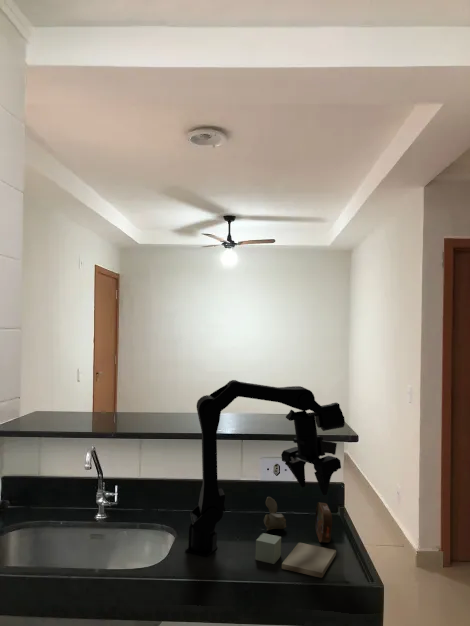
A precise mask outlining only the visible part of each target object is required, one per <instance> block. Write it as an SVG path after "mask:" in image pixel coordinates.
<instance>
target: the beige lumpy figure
mask: <svg viewBox="0 0 470 626" xmlns="http://www.w3.org/2000/svg"><path fill="white" fill-rule="evenodd" d="M265 506H266V507H267V508H268V511H269V514H268V513H266V514H265V516H264V518H263V523H264V525H265V528H266V530H265V531H271V530H275V529H276V530H284V529H285V528H287V519H286V518H285V515H283V514H282V513H277V512H278V504H277V501H275V499H274V498H272V497H271V496H267V497H266V500H265Z"/></svg>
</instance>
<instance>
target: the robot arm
mask: <svg viewBox="0 0 470 626" xmlns="http://www.w3.org/2000/svg"><path fill="white" fill-rule="evenodd" d="M237 398H246V399H254V400H259V401H268V402H273V403H280V404H282V405H285V406H288V407H291V408H294V409H295V410H299V411H295V410H294V409H290V410H289V413H287V415H286V416H285V419H287V420H288V421H293V424H294V430H295V438H293V439H292V441H293V443H295V444H296V446H294V447H290V448H287V449H285V450H283V451H282V453H281V455H280V456H281V461H282V462H283V463H284V464H285V466H287V467H288V469H289V470H290V472H291V473H292V475H293V476H294V477H295V479H296V481H297V483H298V484H299V486H300V487H301V488H305V487H306V474H305V471H306V470H305V466H306V463H309V464H311V465H313V469H314V476H315V479H316V481H317V483H318V488H319V489H320V491H321V495H323V496H327V495H328V492H329V489H330V482H331V479H332V476H333V474H334V473H335V472H337V471H338V470H340V469H342V463H341V459H340V458H339V457H335V456H334V455H336V452H337V446H338V445H337V444H338V442H337V443H336V442H333V441H329V440H324V438H323V436H321V435H318V430H317V428H318V429H321V430H322V431H323V432H325V431H330V430H336V429H341V428H344V427H345V426H346V423H345V422H346V421H345V416H344V413H343V412H342V411H343V410H342V409H341V407H340V406H341V405H340V403H338V402H333V403H329V404H324V405H321V404H319V403H318V401H316V397H315V394H314V393H313V391H312V390H310V389H308V388H306V387H303V386H299V385H295V386H283V387H278V386H270V385H264V384H259V383H258V384H257V383H250V382H243V381H238V380H236V379H231V380H229V381H228V382H227V383H226V384H225V385H223V386H221V387H220V388H218V389H216V390H215V391H213V392H212V393H211V394H207V395H206V394H205V395H203V396H201V397H200V398H199V399H198V400H197V402H196V411H197V416H198V421H199V425H200V430H201V461H202V464H201V465H202V468H201V469H202V473H201V474H202V485H201V488H200V492H199V499H198V505H196V506H195V507H194V508H193V509H192V510H191V511H190V512H189V513H190V514H189V515H190V519H191V524H189V525H188V543H187V545H188V546H187V547H186V548H185V549H184V551H185V552H187V553H190V554H195V555H199V556H202V557H203V556H204V557H208V556H210V555H211V554H212V553H213V552H215V550H216V549H218V548H219V547H218V544H217V543H218V533H217V531H216V526H217V523H219V522H220V521H221V520H222V519H223V515H224V512H226V507H225V500H226V499H225V498H226V495H225V492H224V490H223V488H222V487H220V488H219V486H218V485H219V484H218V448H217V447H218V445H217V444H218V441H217V440H218V439H217V437H218V436H217V432H218V429H219V425H220V421H221V419H220V418H221V414H222V411H223V410H224V409H226V408H227V407H229V406H230V404H231V403H232V402H233V401H235V399H237ZM307 411H312V412H307ZM326 454H332V455H326Z"/></svg>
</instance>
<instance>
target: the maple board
mask: <svg viewBox="0 0 470 626" xmlns="http://www.w3.org/2000/svg"><path fill="white" fill-rule="evenodd" d="M336 555H337V550H336V549H332V548H327V547H323V546H318V545H314V544H307V543H303V542H298V543H297V544H296V546H295V547H294V548H293V550H291V552H290V553H289V554H288V556H286V558H285V559H284V560H283V562H282V563H281V569H282V570H285V571H291V572H295V573H300V574H304V575H308V576H311V577H316V578H321V579H322V578H323V577H324V576H325V573H326V571H327V570H328V569H329V567H330V566H331V564H332V562H333V560H334V558H335V557H336Z"/></svg>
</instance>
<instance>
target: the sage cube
mask: <svg viewBox="0 0 470 626" xmlns="http://www.w3.org/2000/svg"><path fill="white" fill-rule="evenodd" d="M281 556H282V536H279V535H273V534H269V533H266V532H265V533H264V532H262V533H261V534H260V535H259V536H258V538H257V539H255V560H256V561H260V562H263V563H269V564H273V565H274V564H276V563H277V561H278V560H279V559H280V557H281Z"/></svg>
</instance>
